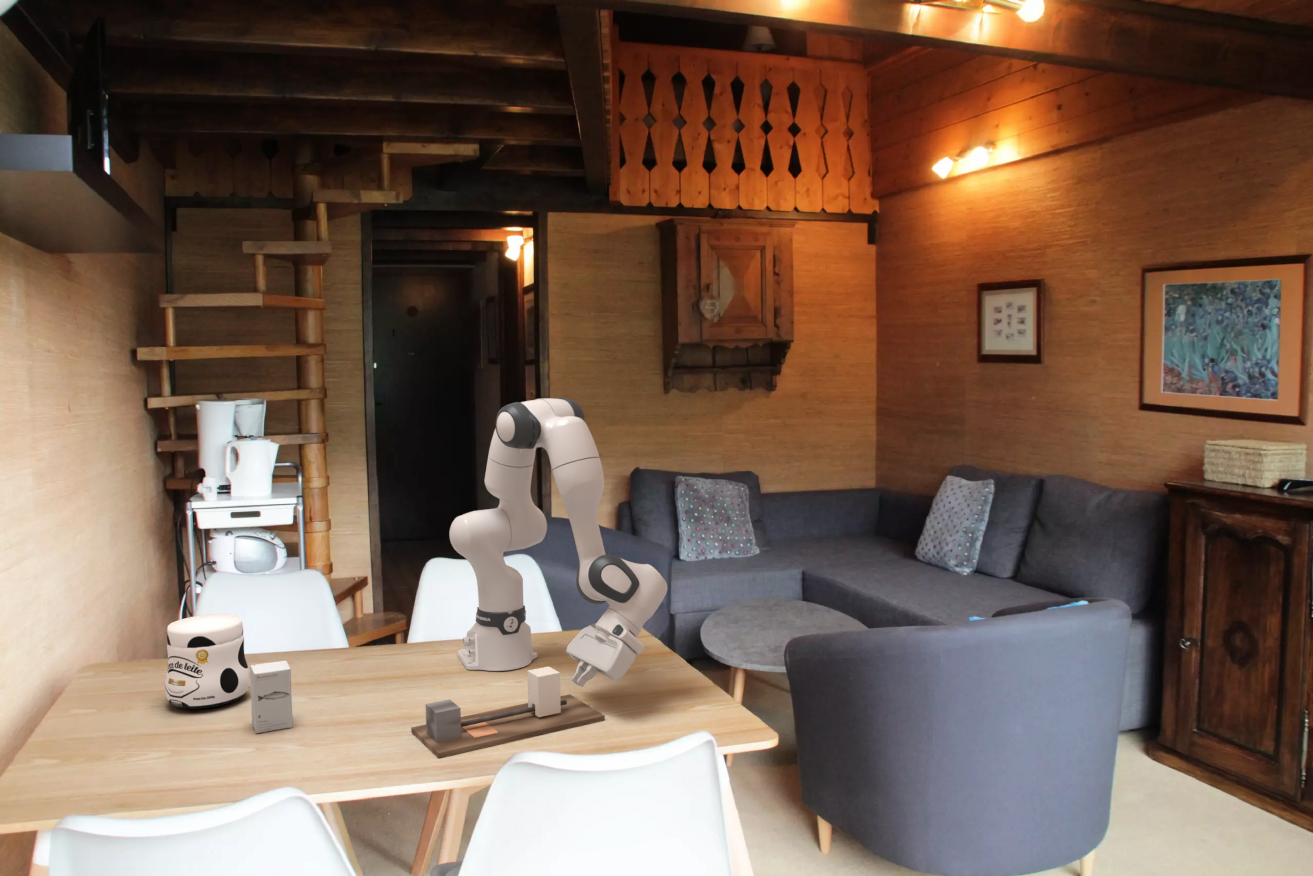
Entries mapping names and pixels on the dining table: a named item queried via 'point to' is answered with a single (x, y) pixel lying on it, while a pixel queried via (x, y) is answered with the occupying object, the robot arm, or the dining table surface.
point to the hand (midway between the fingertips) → (576, 683)
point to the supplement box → (271, 696)
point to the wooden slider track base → (495, 725)
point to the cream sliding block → (544, 691)
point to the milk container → (206, 661)
